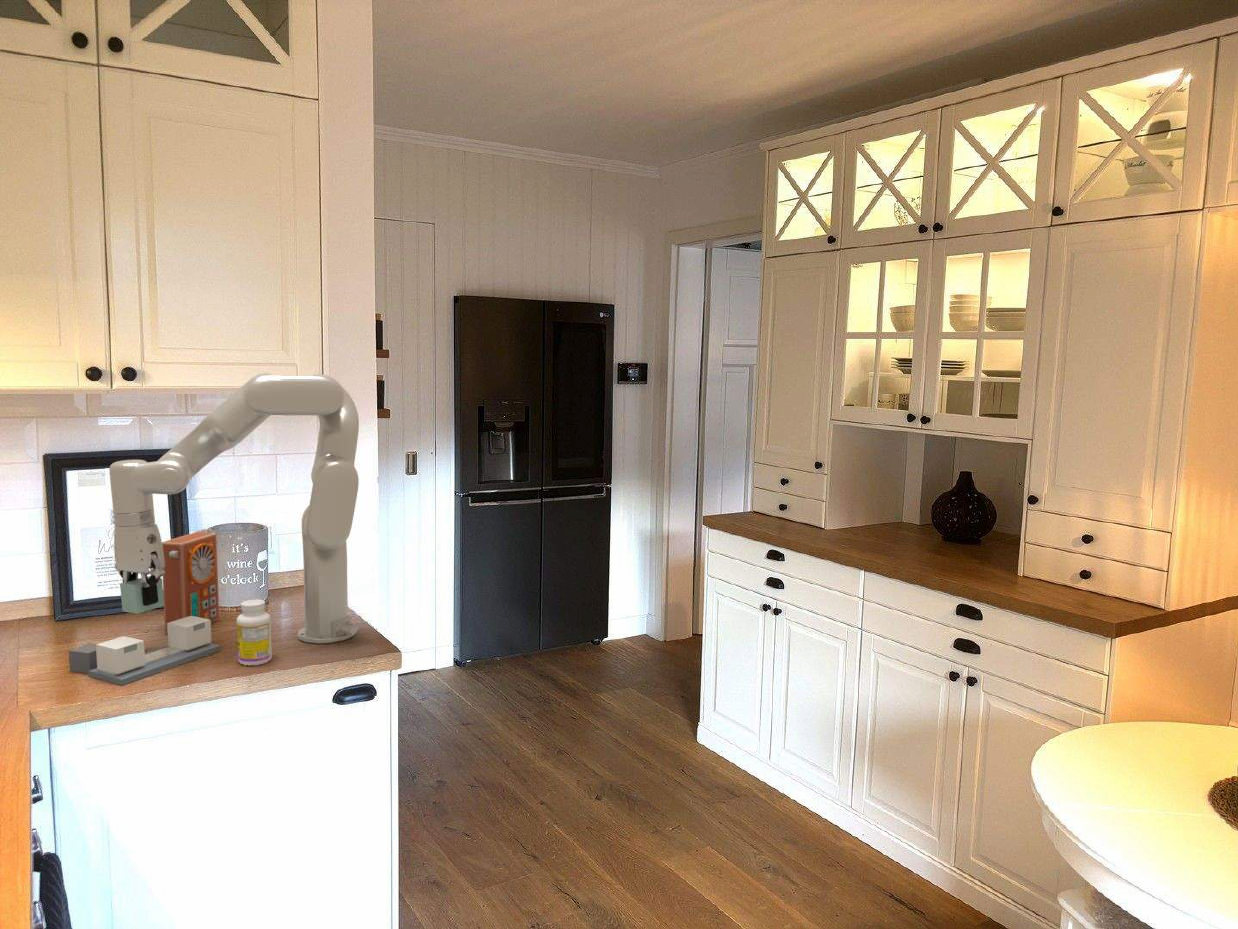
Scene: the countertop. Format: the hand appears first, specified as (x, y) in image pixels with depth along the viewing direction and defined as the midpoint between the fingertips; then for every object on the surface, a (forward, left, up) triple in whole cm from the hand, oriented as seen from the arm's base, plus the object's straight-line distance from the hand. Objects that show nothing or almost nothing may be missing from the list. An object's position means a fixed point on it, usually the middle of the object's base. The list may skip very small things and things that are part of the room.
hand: (142, 601), depth 190 cm
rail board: (-7, +3, -11) cm, 14 cm away
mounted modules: (-7, +3, -10) cm, 12 cm away
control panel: (+7, -18, -12) cm, 22 cm away
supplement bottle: (-24, -8, -12) cm, 28 cm away
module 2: (0, 0, -1) cm, 1 cm away
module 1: (+2, +11, -12) cm, 16 cm away
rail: (-7, +3, -10) cm, 13 cm away
